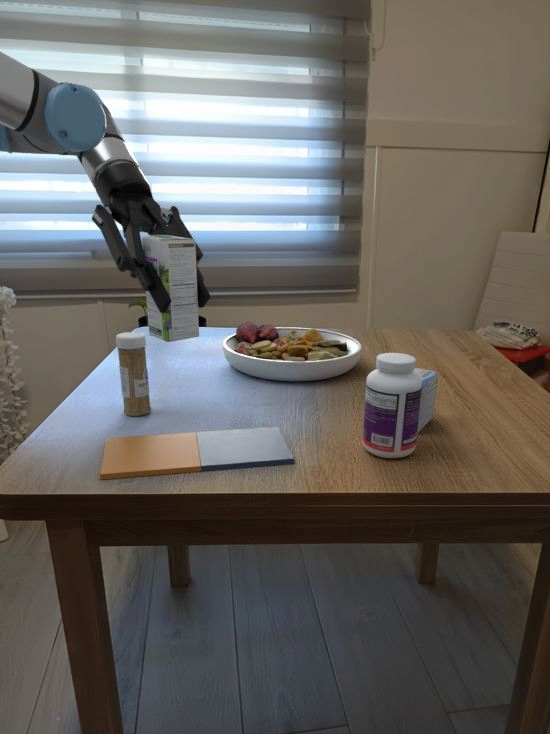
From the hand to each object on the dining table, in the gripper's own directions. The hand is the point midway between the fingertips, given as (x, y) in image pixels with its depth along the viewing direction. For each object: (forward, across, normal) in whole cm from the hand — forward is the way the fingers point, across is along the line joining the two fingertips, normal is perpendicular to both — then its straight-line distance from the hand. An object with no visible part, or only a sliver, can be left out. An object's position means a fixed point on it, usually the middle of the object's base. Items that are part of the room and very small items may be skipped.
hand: (186, 304), depth 83 cm
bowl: (+3, -38, -25) cm, 46 cm away
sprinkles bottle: (+5, +2, -24) cm, 24 cm away
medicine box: (+30, -29, +2) cm, 42 cm away
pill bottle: (+32, -18, +4) cm, 37 cm away
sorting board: (+19, +4, -9) cm, 22 cm away
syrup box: (+1, 0, -6) cm, 7 cm away
